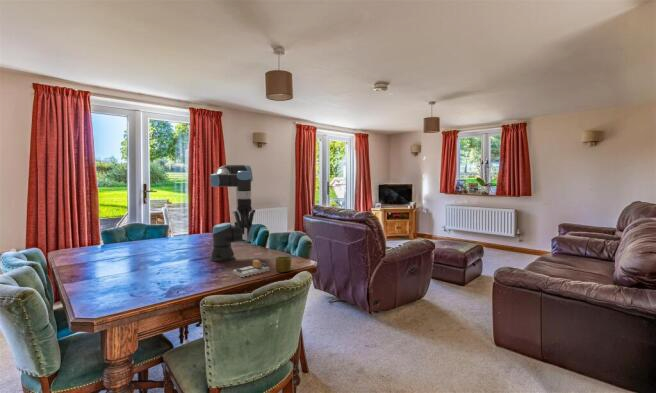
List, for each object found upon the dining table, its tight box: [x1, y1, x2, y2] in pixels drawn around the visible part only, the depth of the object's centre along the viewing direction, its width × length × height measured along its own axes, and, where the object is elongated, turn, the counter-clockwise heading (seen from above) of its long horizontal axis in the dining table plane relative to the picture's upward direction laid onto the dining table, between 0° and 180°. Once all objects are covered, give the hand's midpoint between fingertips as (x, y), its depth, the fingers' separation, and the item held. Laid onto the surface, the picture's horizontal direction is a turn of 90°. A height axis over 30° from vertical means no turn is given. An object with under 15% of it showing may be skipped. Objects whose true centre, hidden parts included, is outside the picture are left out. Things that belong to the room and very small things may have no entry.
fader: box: [252, 259, 261, 268], centre depth 190 cm, size 4×2×4 cm, turn 43°
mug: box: [275, 255, 292, 273], centre depth 192 cm, size 12×10×10 cm
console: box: [232, 261, 270, 278], centre depth 187 cm, size 10×18×4 cm, turn 133°
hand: (244, 239), depth 183 cm, fingers closed
